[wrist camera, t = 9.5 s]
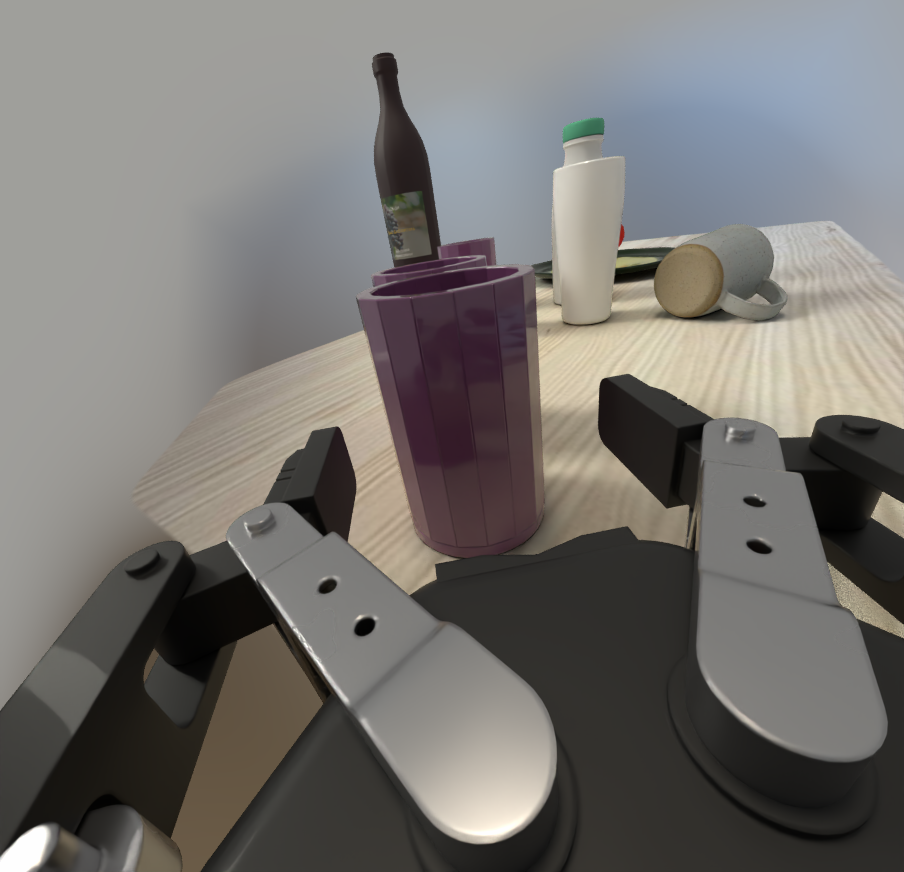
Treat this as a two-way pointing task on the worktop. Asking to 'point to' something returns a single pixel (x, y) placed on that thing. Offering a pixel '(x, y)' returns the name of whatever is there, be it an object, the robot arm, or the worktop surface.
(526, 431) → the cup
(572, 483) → the worktop surface
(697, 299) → the ceramic mug
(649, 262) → the plate
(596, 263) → the drinking glass
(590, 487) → the worktop surface
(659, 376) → the worktop surface
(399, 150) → the wine bottle
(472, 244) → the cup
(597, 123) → the milk bottle
